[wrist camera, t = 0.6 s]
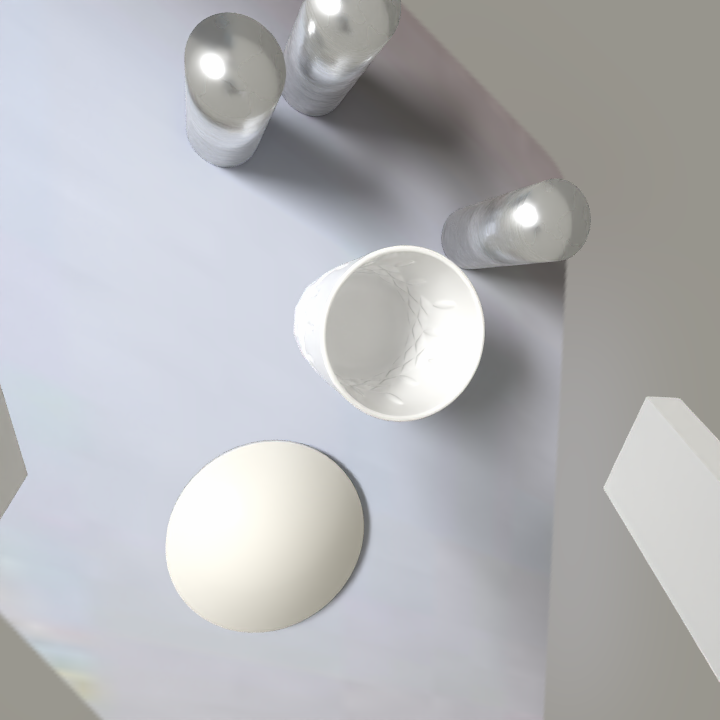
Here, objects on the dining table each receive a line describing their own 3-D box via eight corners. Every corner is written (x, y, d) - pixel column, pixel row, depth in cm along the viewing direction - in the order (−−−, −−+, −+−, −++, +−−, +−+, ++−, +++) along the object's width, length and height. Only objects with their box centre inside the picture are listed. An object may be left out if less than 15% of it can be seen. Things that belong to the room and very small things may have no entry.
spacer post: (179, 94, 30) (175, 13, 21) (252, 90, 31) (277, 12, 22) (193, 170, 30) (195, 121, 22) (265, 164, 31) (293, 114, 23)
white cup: (420, 282, 35) (505, 276, 26) (385, 400, 35) (457, 438, 26) (303, 242, 33) (350, 220, 23) (267, 369, 33) (298, 399, 23)
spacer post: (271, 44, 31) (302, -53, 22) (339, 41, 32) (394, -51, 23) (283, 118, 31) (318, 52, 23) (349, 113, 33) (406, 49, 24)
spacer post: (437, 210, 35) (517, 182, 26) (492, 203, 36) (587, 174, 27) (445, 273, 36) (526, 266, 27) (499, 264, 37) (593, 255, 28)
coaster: (146, 466, 31) (145, 469, 31) (346, 420, 35) (348, 422, 34) (188, 653, 33) (188, 659, 33) (373, 593, 37) (376, 597, 36)
